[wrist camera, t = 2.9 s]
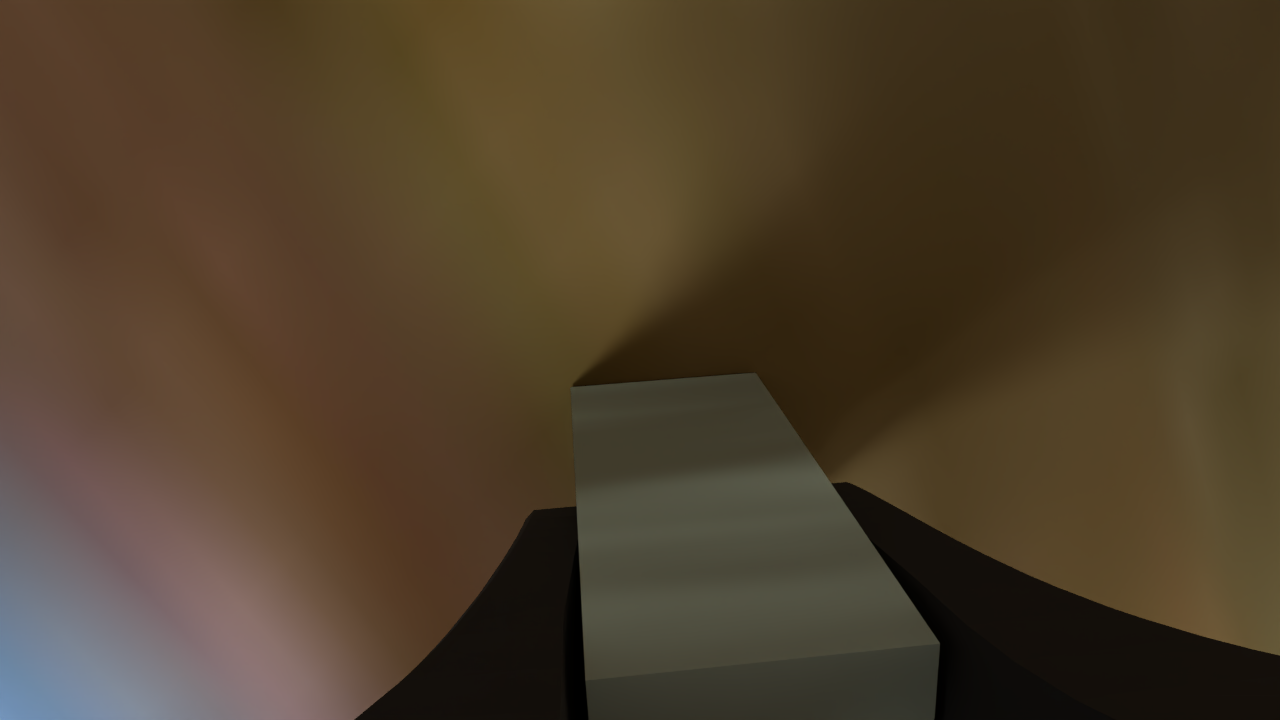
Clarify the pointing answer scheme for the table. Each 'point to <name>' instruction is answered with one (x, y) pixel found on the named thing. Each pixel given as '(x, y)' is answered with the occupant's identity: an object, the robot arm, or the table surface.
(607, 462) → the gray rectangular block
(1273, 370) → the table surface
